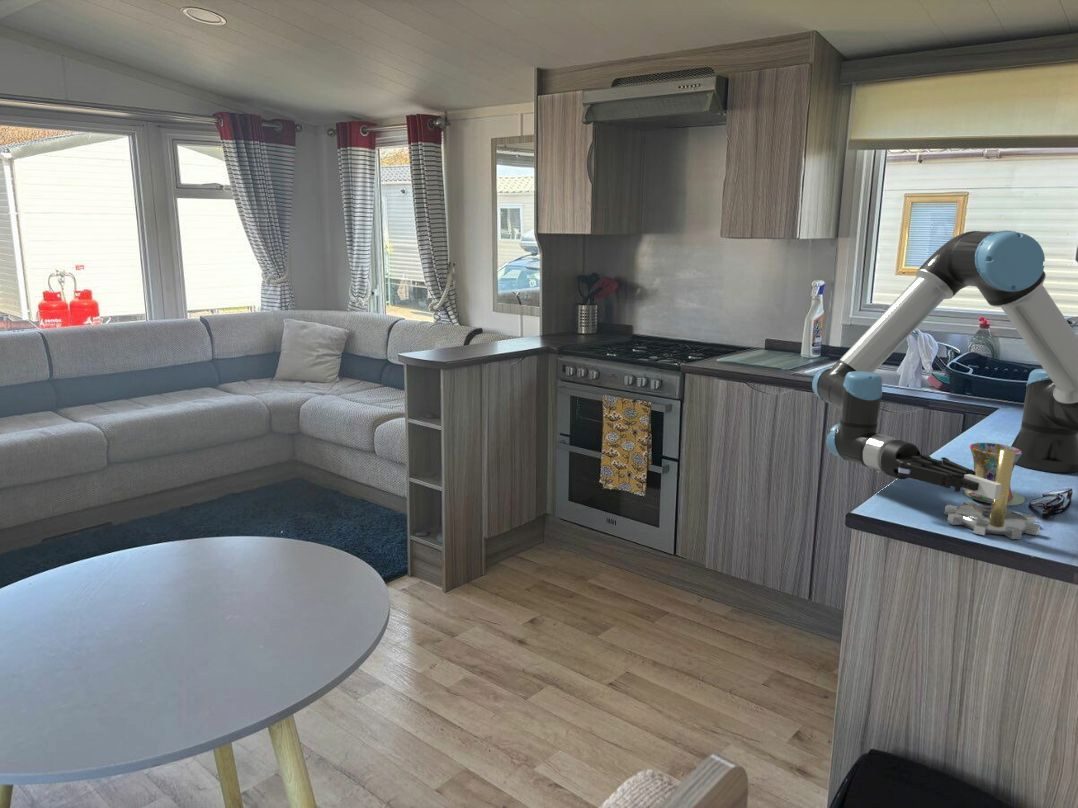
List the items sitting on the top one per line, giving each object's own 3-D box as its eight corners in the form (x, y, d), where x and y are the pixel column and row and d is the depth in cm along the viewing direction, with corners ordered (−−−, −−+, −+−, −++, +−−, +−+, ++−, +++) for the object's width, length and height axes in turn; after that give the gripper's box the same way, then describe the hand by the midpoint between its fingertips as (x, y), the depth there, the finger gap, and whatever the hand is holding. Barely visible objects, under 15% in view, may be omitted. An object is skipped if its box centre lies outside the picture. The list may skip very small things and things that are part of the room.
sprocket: (941, 505, 160) (951, 430, 157) (1027, 515, 155) (1039, 438, 152) (951, 531, 146) (962, 449, 143) (1046, 543, 141) (1060, 458, 138)
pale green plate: (987, 485, 174) (987, 483, 174) (1036, 501, 164) (1036, 499, 164) (952, 491, 170) (952, 489, 169) (1000, 508, 160) (1000, 506, 160)
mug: (1024, 506, 160) (1032, 455, 157) (977, 505, 160) (984, 454, 158) (992, 487, 172) (999, 439, 169) (948, 486, 172) (955, 438, 169)
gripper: (913, 471, 167) (1019, 507, 146) (866, 477, 162) (969, 516, 141) (917, 436, 166) (1025, 468, 145) (870, 442, 160) (975, 475, 139)
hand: (997, 491), depth 143 cm, fingers closed
